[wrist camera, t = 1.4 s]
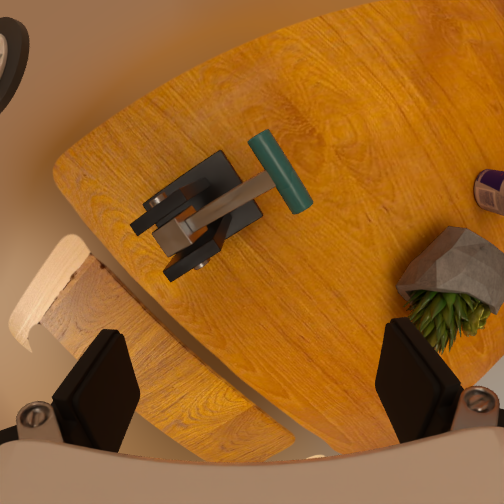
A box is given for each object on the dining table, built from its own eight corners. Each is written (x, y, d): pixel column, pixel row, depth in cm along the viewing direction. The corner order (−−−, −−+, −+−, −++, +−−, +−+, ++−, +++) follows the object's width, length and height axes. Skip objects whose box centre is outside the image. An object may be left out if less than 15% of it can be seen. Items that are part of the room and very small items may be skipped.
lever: (273, 126, 18) (260, 131, 16) (317, 196, 19) (309, 211, 17) (159, 205, 24) (139, 217, 22) (194, 257, 25) (178, 273, 23)
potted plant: (503, 276, 32) (454, 378, 32) (427, 235, 39) (376, 333, 39) (533, 248, 22) (473, 389, 21) (431, 195, 29) (366, 326, 28)
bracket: (221, 149, 32) (202, 145, 19) (263, 213, 33) (269, 247, 21) (145, 202, 33) (90, 229, 21) (186, 262, 35) (154, 316, 23)
